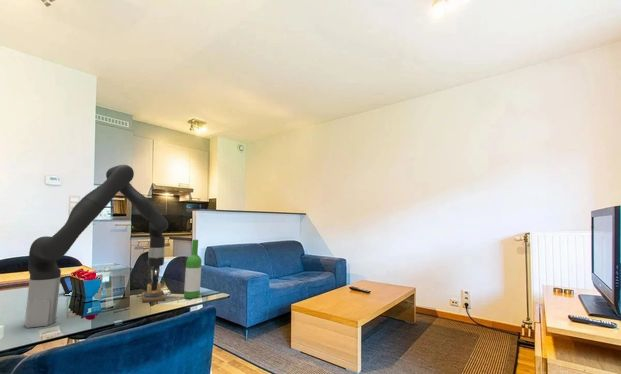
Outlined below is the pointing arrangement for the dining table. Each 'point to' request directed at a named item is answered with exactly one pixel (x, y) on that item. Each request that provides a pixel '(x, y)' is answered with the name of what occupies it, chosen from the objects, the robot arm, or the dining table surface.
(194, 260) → the wine bottle
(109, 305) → the dining table surface
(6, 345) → the dining table surface
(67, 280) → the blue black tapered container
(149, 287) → the brown ribbed pot
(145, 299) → the bobbin stand
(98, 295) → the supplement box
